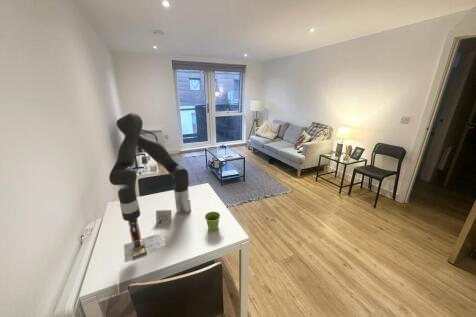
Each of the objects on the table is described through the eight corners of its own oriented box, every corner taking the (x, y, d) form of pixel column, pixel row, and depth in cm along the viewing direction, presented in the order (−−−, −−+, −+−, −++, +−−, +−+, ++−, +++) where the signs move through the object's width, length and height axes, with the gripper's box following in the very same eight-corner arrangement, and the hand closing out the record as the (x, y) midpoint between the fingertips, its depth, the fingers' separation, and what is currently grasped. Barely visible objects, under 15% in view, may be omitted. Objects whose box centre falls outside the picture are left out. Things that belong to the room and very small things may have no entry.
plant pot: (202, 230, 120) (201, 218, 117) (209, 221, 128) (209, 210, 125) (216, 234, 117) (216, 222, 114) (223, 224, 125) (222, 213, 122)
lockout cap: (140, 234, 103) (138, 222, 100) (141, 239, 99) (138, 227, 97) (131, 237, 101) (129, 225, 98) (132, 242, 97) (129, 230, 95)
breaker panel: (163, 234, 117) (162, 230, 116) (167, 248, 107) (166, 244, 106) (124, 246, 108) (123, 243, 107) (125, 264, 97) (124, 260, 96)
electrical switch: (156, 225, 125) (154, 212, 122) (159, 221, 130) (157, 208, 127) (171, 225, 125) (169, 212, 122) (173, 221, 130) (172, 208, 127)
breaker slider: (140, 241, 110) (138, 233, 108) (141, 245, 106) (139, 237, 105) (134, 243, 108) (132, 235, 107) (135, 247, 105) (133, 239, 103)
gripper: (121, 203, 98) (127, 231, 104) (121, 218, 86) (128, 249, 92) (137, 199, 101) (143, 226, 107) (140, 213, 90) (146, 243, 96)
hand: (136, 237), depth 100 cm, fingers closed on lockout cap, 4 cm apart
